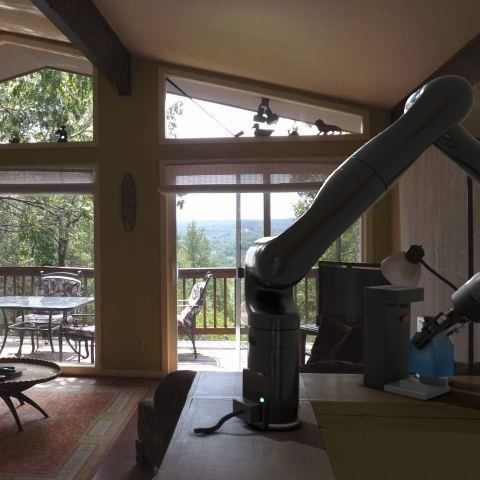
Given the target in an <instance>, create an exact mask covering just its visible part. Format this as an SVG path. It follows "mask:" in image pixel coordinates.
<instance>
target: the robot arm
mask: <svg viewBox="0 0 480 480" xmlns="http://www.w3.org/2000/svg"><path fill="white" fill-rule="evenodd" d="M474 104H475V92H474V88H473V86H472V84H471V83H470V82H469V81H468V80H467V79H465V78H464V77H462V76H460V75H454V74H453V75H452V74H451V75H450V74H449V75H441V76H438V77H436V78H434V79H432V80H430V81H428V82H427V83H425V84H424V85H423V86H421V87H420V88H419V89H417V90H416V91H415V92H414V93H412V94H411V95H410V96H409V98H408V99H407V101H406V103H405V106H404V113H403V114H402V115H401V116H400V117H399V118H398V119H397V120H396V121H394V123H392V124H391V125H390V126H388V127H387V128H385V129H384V130H383V131H381V132H380V133H378V134H377V135H376V136H374V137H373V138H371V139H370V140H369V141H367V142H366V143H364V145H362V146H361V147H360V148H358V149H357V150H356V151H354V152H353V153H352V154H351V155H350V156H349V157H347V159H346V160H345V161H343V162H342V164H340V165H339V166H338V167H337V168H336V169H335V170H333V172H332V173H331V174H330V175H329V176H328V178H327V179H326V180H325V182H323V185H322V186H321V187H320V189H319V191H318V193H317V194H316V195H315V197H314V199H313V201H312V203H311V204H310V205H309V207H308V208H307V210H306V211H305V212H304V213H303V214H302V215H301V216H300V217H299V218H298V219H296V221H294V222H293V223H292V224H290V226H288V227H287V228H286V229H284V230H283V231H281V233H279V234H278V235H276V236H265V237H261V238H259V239H257V240H255V241H254V242H252V244H251V245H250V246H249V248H248V249H247V252H246V254H245V258H244V269H243V270H244V271H243V272H244V273H243V274H244V278H243V279H244V305H245V311H246V314H247V315H246V316H247V352H246V353H247V354H246V355H247V357H246V358H247V360H246V367H243V368H242V385H241V386H242V388H241V389H242V391H241V392H242V393H241V395H242V396H241V397H240V396H239V397H234V398H232V412H229V413H227V414H225V415H224V416H221V418H219V420H218V422H217V423H216V424H215V425H213V426H209V427H195V428H193V433H194V434H195V435H197V434H211V433H214V432H216V431H219V430H220V429H221V427H222V426H223V425H224V424H225V423H226V422H228V420H231V419H232V418H237V419H238V420H241V421H243V422H245V423H247V424H249V425H251V426H253V427H255V428H257V429H259V430H261V431H269V430H270V431H271V430H272V431H286V430H291V429H295V428H297V427H298V426H299V425H300V415H301V404H300V375H301V374H300V373H301V372H300V371H301V370H300V369H301V368H300V365H301V364H300V363H301V361H300V360H301V313H300V310H299V309H298V307H297V304H296V301H295V296H294V293H295V292H294V287H295V286H297V285H298V284H299V283H301V282H302V281H303V280H304V278H305V277H306V276H307V275H308V274H309V273H310V271H311V270H312V269H313V267H315V265H316V264H317V263H318V261H319V260H321V258H322V257H323V256H324V254H326V252H327V251H328V250H329V249H330V248H331V246H332V245H333V244H334V243H335V242H336V241H337V240H338V239H339V238H340V237H341V236H343V234H344V233H346V232H347V231H348V230H349V229H350V228H351V227H353V225H355V224H356V223H357V222H358V221H359V220H360V219H361V218H362V217H363V216H364V215H365V214H366V213H368V211H370V210H371V209H372V208H373V207H374V206H376V204H377V203H378V202H380V201H381V199H382V198H384V196H385V195H387V194H388V193H389V191H390V190H392V188H393V187H394V186H395V185H396V184H397V183H398V182H399V181H400V180H401V179H402V178H403V177H404V175H405V174H407V172H408V171H409V170H410V169H411V168H412V167H413V166H414V164H415V163H416V162H417V161H418V160H419V159H420V158H421V156H423V154H424V153H425V152H426V151H427V150H428V149H429V148H430V147H432V146H433V147H434V148H435V149H437V150H438V151H439V152H440V153H442V154H443V155H444V156H445V157H446V158H447V159H449V160H450V161H451V162H452V163H453V164H454V165H455V166H457V167H458V168H459V169H460V170H461V171H462V172H463V173H464V174H465V175H466V176H468V177H469V178H470V179H471V180H472V181H473V182H474V183H475V184H476V185H477V187H479V188H480V141H479V140H478V139H476V138H475V137H474V136H473V135H471V134H470V132H469V131H468V130H467V129H466V128H465V127H464V126H463V125H462V122H464V121H465V120H466V119H467V117H469V115H470V113H471V112H472V109H473V108H474ZM451 303H452V305H453V307H452V308H447V309H446V310H444V311H440V312H438V313H437V315H434V316H435V317H434V318H433V319H432V320H431V321H430V322H429V323H427V324H426V325H425V326H424V327H422V329H421V331H422V332H423V333H421V334H420V335H419V336H418V337H417V338H416V339H414V340H413V341H412V344H413V345H414V346H415V347H416V349H417V350H421V349H422V348H423V347H425V346H426V345H427V344H428V343H429V342H431V341H432V340H434V339H435V338H436V337H438V336H439V335H445V334H447V336H448V337H449V336H451V337H452V336H454V335H455V334H459V333H461V331H463V329H465V328H466V327H467V326H469V325H470V324H471V323H475V324H480V271H478V272H477V273H475V274H474V275H473V276H472V277H471V278H470V279H468V280H467V281H466V282H465V283H464V284H463V285H461V287H459V288H458V289H457V290H456V291H455V292H454V293H452V295H451ZM432 328H433V329H434V332H433V333H432V332H431V331H430V329H432ZM443 328H444V329H443Z"/></svg>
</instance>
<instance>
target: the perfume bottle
mask: <svg viewBox="0 0 480 480" xmlns="http://www.w3.org/2000/svg"><path fill="white" fill-rule="evenodd" d="M435 316H436V315H423V316H422V317H424V322H422V327H424V326H425V325H426V324H427V323H429V322H430V321H431V320H432V319H433V318H434V317H435ZM430 331H431V332H432V333H433V332H434V329H433V328H432V329H430ZM421 333H423V332H422V331H421V332H417V331H416V332H415V333H414V334H413V336H412V337H411V338H410V342H409V349H408V372H410V374H411V373H412V374H415V375H416V374H419V375H422V376H426V377H430V378H439V377H446V376H450V377H453V376H455V375H454V371H455V369H454V367H455V345H454V344H453V342H452V340H451V341H450V339H449V338H448V336H447V334H445V335H439V336H438V337H436V338H435V339H434V340H432V341H431V342H429V343H428V344H427V345H426V346H425V347H423V348H422V349H421V350H417V349H416V347H415V346H414V345H413V344H412V341H413V340H414V339H416V338H417V337H418V336H419V335H420V334H421Z"/></svg>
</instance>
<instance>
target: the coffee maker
mask: <svg viewBox="0 0 480 480" xmlns="http://www.w3.org/2000/svg"><path fill="white" fill-rule="evenodd" d="M424 301H425V287H423V286H421V287H420V286H409V285H396V284H388V285H376V286H367V287H366V286H365V287H364V316H363V317H364V318H363V319H364V321H363V322H364V323H363V325H364V326H363V378H362V379H363V381H362V382H363V387H369V388H372V389H377V390H381V391H385V392H389V393H393V394H398V395H402V396H405V397H409V398H414V399H417V400H422V401H427V400H431V399H433V398H435V397H438V396H440V395H443V394H446V393H448V392H450V390H451V386H450V385H449V383H448V379H445V378H440V377H439V378H430V377H426V376H422V375H419V378H415V377H410V376H411V375H410V374H411V372H408V349H409V342H410V340H411V319H412V318H411V317H412V316H411V315H412V314H411V313H412V303H413V304H414V303H420V302H424Z"/></svg>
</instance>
